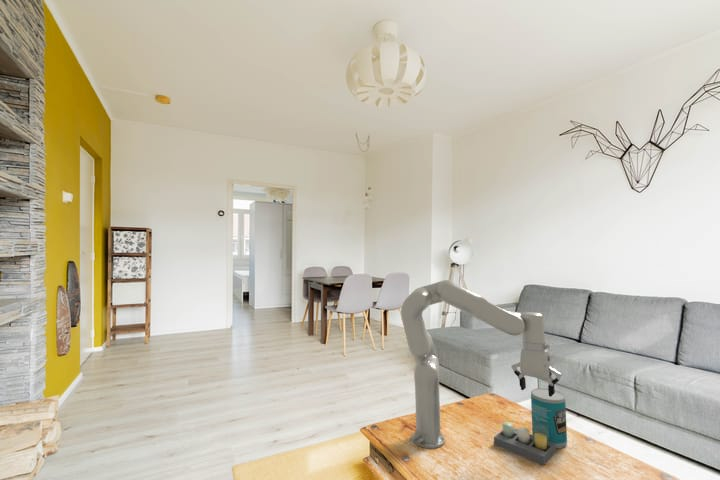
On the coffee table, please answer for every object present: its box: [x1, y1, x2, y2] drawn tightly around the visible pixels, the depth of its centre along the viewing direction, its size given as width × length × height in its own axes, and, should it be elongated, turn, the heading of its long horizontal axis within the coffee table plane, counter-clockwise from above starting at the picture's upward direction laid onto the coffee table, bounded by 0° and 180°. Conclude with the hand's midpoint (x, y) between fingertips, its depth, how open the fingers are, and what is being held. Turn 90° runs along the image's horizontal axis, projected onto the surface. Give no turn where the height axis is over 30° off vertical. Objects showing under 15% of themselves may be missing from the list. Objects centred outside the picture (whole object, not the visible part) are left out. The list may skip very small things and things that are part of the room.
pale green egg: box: [501, 421, 515, 437], centre depth 135 cm, size 4×4×4 cm
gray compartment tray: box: [493, 428, 557, 466], centre depth 130 cm, size 12×18×3 cm, turn 43°
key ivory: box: [517, 426, 531, 444], centre depth 130 cm, size 4×4×4 cm
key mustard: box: [534, 433, 547, 450], centre depth 126 cm, size 4×4×4 cm
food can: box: [530, 387, 568, 449], centre depth 136 cm, size 12×12×18 cm
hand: (536, 392), depth 128 cm, fingers open, 9 cm apart
